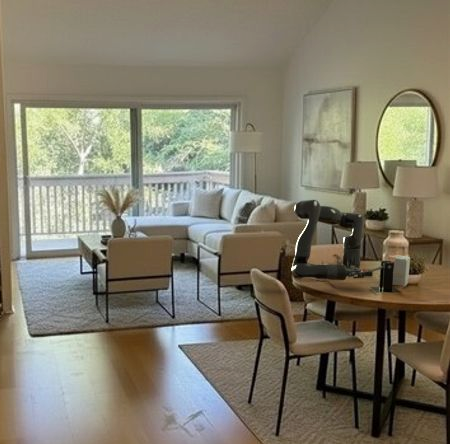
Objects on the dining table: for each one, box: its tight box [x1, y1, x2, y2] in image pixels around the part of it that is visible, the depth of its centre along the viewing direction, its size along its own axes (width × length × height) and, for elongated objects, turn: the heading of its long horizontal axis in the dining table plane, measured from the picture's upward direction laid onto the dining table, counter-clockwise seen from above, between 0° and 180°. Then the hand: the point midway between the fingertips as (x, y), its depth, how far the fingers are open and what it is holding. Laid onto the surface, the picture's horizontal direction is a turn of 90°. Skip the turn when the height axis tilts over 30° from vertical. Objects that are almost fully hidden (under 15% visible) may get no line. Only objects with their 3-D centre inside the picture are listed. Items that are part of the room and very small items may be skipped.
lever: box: [361, 262, 389, 278], centre depth 270 cm, size 14×4×4 cm, turn 88°
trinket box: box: [313, 261, 328, 282], centre depth 296 cm, size 11×11×9 cm
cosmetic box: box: [393, 254, 411, 287], centre depth 282 cm, size 8×6×15 cm
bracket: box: [369, 260, 403, 294], centre depth 271 cm, size 12×10×15 cm
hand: (370, 273), depth 271 cm, fingers closed on lever, 3 cm apart
